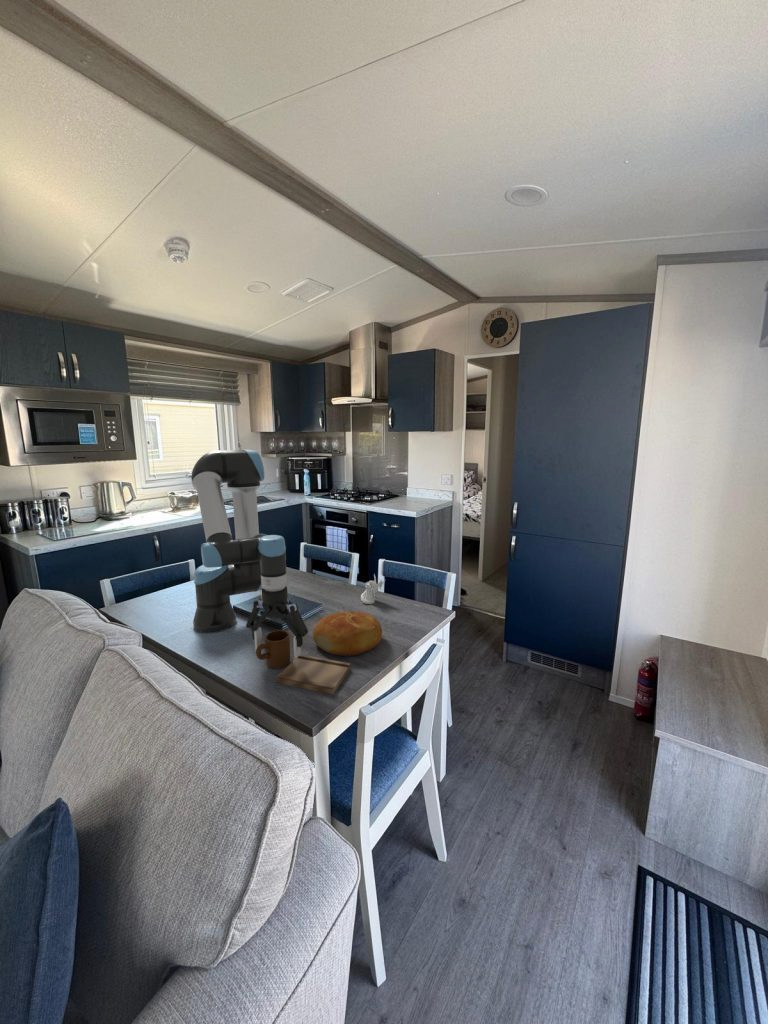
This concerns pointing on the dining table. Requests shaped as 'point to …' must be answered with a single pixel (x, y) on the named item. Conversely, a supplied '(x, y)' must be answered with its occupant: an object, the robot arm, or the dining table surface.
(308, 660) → the board
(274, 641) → the mug
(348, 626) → the bread
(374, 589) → the figurine
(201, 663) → the dining table surface
